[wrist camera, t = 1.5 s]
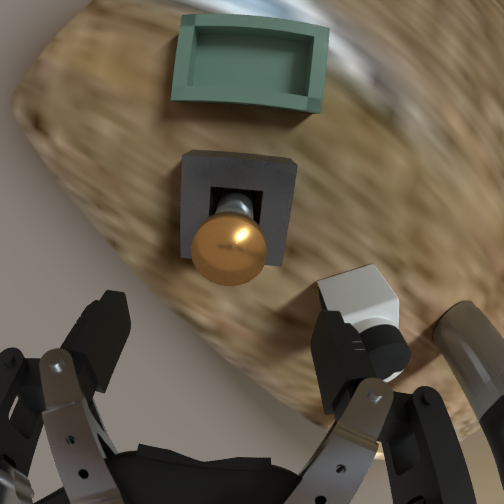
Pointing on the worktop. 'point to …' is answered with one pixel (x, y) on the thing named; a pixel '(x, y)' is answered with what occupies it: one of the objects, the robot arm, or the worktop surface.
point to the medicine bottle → (369, 316)
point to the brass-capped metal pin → (230, 241)
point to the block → (240, 177)
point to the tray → (250, 62)
